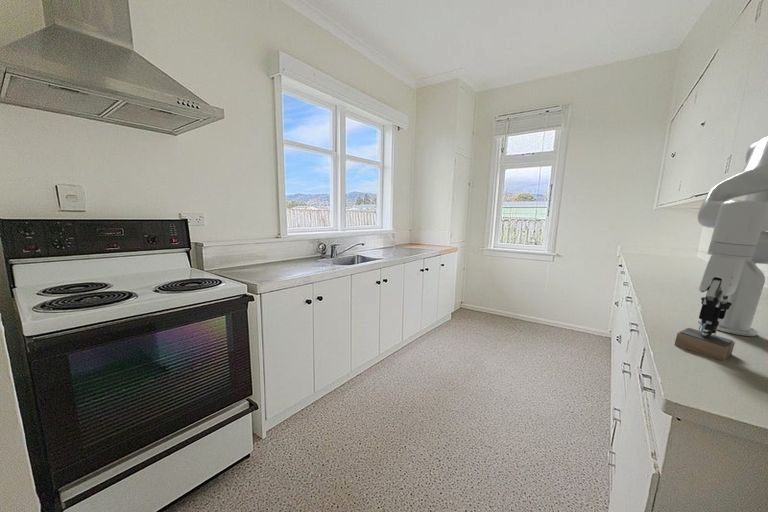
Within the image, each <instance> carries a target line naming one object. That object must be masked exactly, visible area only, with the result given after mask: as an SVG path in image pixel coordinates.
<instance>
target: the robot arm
mask: <svg viewBox="0 0 768 512" xmlns="http://www.w3.org/2000/svg"><path fill="white" fill-rule="evenodd" d="M743 196H744V197H745V196H746V198H745V199H744V200H743V199H740V200H739V199H735V198H738V197H743ZM697 222H698V223H699V224H700V225H701V226H703V227H706V228H711V229H713V231H712V234H711V235H712V236H711V240H710V242H709V245H708V250H707V255H710V257H709V260H708V262H707V265H706V267H705V271H704V272H703V276H702V278H701V281H700V285H699V289H698V291H699V292H700V293H705V292H706V294H705V299H704V302H703V304H702V303H701V304H702V305H701V309H700V312H699V315H698V316H699V317H698V321H697V322H698V323H699V324H700V325H702V322H701V320H706V321H710V322H714V323H716V322H717V321H719V324H718V326H717V331H720V332H724V333H728V334H733V335H737V336H745V337H756V336H758V331H757V330H756V329H754V328H752V323H753V321H754V318H755V315H756V312H757V308H758V305H759V302H760V299H761V296H762V293H763V290H764V286H765V283H766V276H765V275H764V273H763V272H762V270H761V269H760V268H759V267H758V266H757V265H758V264H761V265H768V135H767V136H765V137H763V138H761V139H760V140H758V141H757V142H754V143H752V144H751V145H749V147H748V148H747V151H746V154H745V165H744V167H743V169H742V171H741V172H739V173H737V174H734V175H731V177H728V178H727V179H725V180H723V181H721V182H719V183H717V184H716V185H715V186H713V187H712V188H711V189H710V190H709V192H707V194H706V196H705V198H704V200H703V202H702V203H701V206H700V208H699V210H698V213H697ZM716 297H718V299H717V298H716ZM723 297H724V298H727V299H728V300H727V301H728V302H730V303H732V305H731V306H730V307H729V309H728V310H723V311H721V308H720V305H721V302H722V299H723ZM717 300H718V301H717Z"/></svg>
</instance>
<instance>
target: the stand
mask: <svg viewBox="0 0 768 512" xmlns="http://www.w3.org/2000/svg"><path fill="white" fill-rule="evenodd" d="M700 332H701V330H699V329H695V328H691V327H687V328H685V329H682V330H680V331H678V332H677V334H676V336H675V341H674V346H677V347H680V348H683V349H687V350H689V351H691V352H695V353H697V354H701V355H704V356H707V357H709V358H712V359H715V360H719V361H722V362H724V361H725V360H726V359H728V358H729V357H730V356H731V355H732V353H733V351H734V347H735V344H736V341H734V340H733V339H730V338H726V337H723V336H719V335H716V334H715V335H714V333H712V334H711V335H710V336H708V335H704V334H701V333H700Z"/></svg>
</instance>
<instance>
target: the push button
mask: <svg viewBox="0 0 768 512" xmlns="http://www.w3.org/2000/svg"><path fill="white" fill-rule="evenodd" d="M705 297H706V296H705ZM705 297H703V296H701V298H700V300H701V304H703V302H704V299H705ZM716 298H717V299H718V297H716ZM727 300H728V299H727V298H724V297H723V299H722V302H721V305H720V308H721V311H723V310H728V309H729V307H730V306H731V305H732V303H730V302H728V301H727ZM717 301H718V300H717ZM701 322H702V324H700V325H699V326H698V330H699V331H701V332H700V333H701V334H704V335H708V336H710V335H711V334H713V335H716V334H717V331H718V330H717V326H718V324H719V321H717V322H716V323H714V322H710V321H706V320H701Z"/></svg>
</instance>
